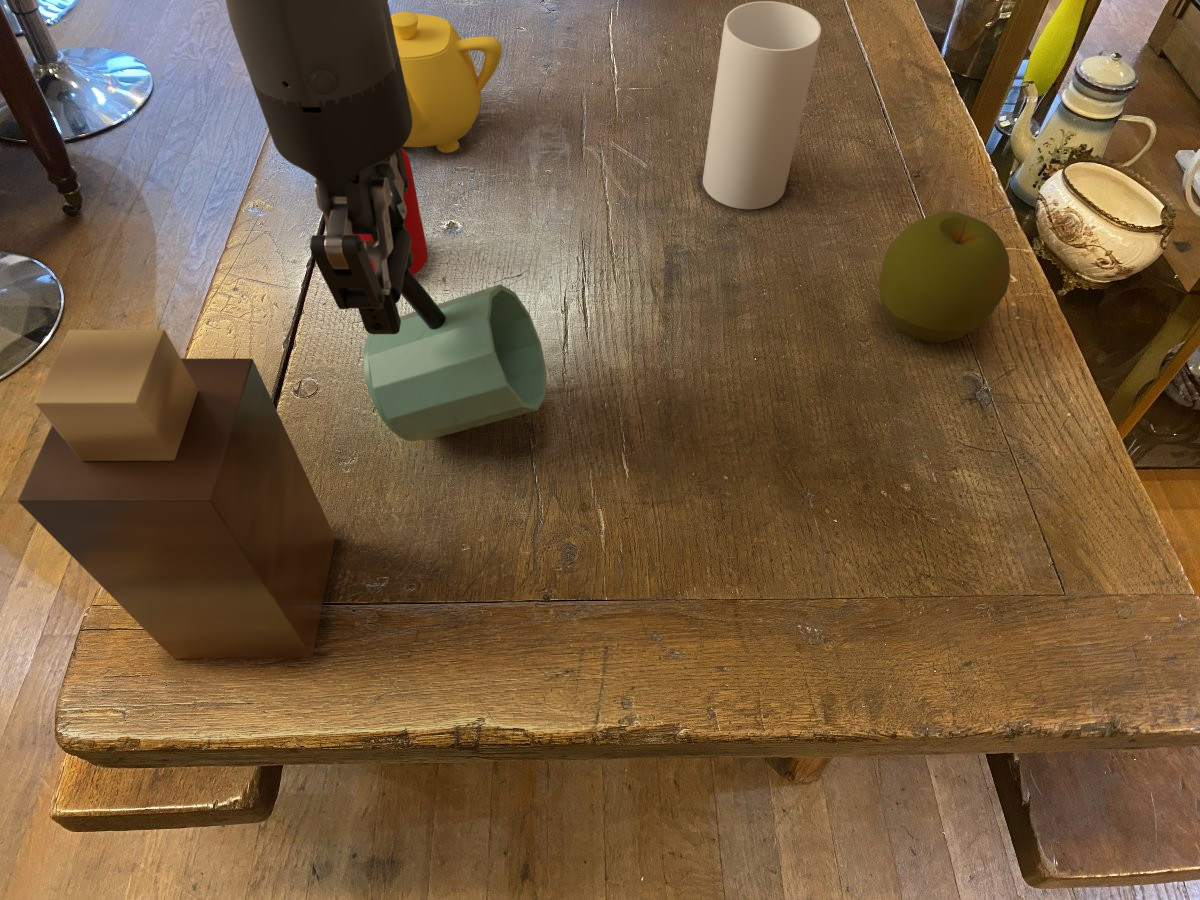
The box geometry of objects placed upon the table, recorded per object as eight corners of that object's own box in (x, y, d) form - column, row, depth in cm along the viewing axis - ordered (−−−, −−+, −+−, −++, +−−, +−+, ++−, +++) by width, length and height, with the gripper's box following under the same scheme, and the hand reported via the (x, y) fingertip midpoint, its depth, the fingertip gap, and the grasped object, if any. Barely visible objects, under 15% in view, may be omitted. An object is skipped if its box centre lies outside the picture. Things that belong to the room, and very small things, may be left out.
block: (175, 461, 42) (136, 403, 38) (81, 461, 41) (32, 402, 38) (199, 390, 44) (164, 329, 40) (111, 390, 44) (68, 328, 40)
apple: (876, 362, 72) (918, 262, 63) (854, 282, 77) (889, 180, 68) (994, 362, 72) (1053, 262, 63) (963, 282, 78) (1012, 180, 69)
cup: (687, 171, 86) (706, 13, 74) (755, 150, 89) (785, -7, 76) (731, 218, 82) (759, 59, 69) (801, 195, 85) (841, 37, 72)
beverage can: (419, 235, 80) (397, 119, 70) (436, 278, 77) (415, 163, 67) (353, 250, 79) (321, 134, 69) (367, 294, 75) (336, 180, 66)
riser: (312, 658, 56) (210, 500, 40) (172, 659, 55) (16, 501, 40) (335, 537, 61) (253, 357, 46) (208, 538, 61) (81, 357, 45)
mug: (291, 332, 53) (429, 287, 50) (319, 237, 59) (446, 190, 55) (424, 463, 65) (543, 433, 62) (438, 373, 70) (548, 341, 67)
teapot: (322, 135, 89) (291, 22, 80) (426, 79, 96) (408, -32, 86) (411, 192, 84) (389, 78, 74) (514, 129, 90) (506, 16, 81)
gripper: (279, -17, 47) (353, 226, 61) (210, 139, 39) (313, 379, 53) (414, -17, 47) (458, 225, 61) (373, 138, 39) (435, 379, 53)
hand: (391, 296), depth 57 cm, fingers closed on mug, 5 cm apart
